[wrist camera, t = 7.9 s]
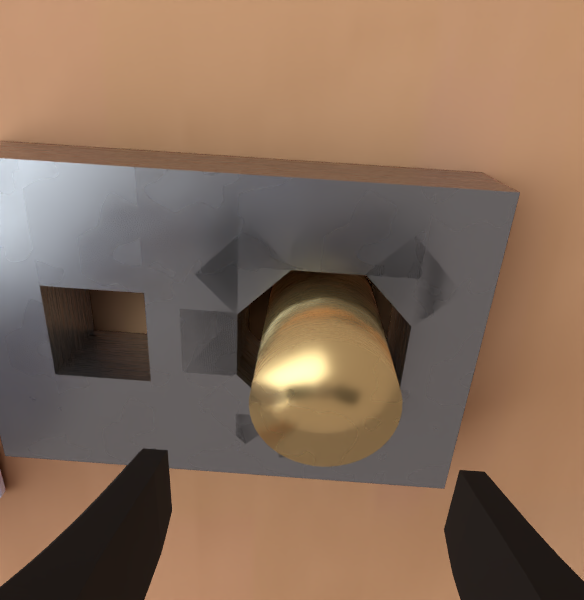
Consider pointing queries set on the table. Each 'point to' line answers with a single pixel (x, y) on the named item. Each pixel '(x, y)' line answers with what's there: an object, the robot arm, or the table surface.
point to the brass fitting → (324, 371)
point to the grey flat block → (229, 298)
